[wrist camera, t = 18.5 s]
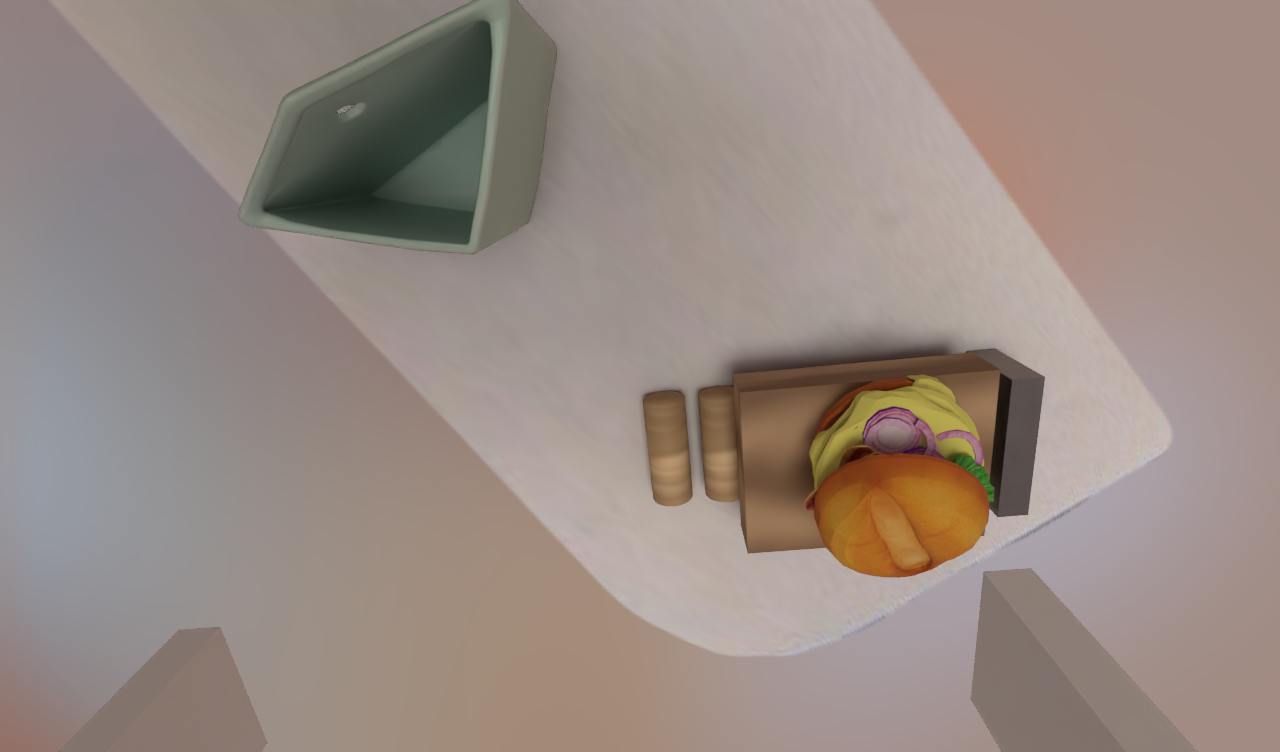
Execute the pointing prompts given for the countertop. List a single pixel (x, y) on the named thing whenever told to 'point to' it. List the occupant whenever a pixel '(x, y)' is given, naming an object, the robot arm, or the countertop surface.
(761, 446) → the board
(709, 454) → the cylinder
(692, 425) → the countertop surface
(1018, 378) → the stop rail
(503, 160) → the planter
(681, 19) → the countertop surface
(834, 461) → the cheeseburger
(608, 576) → the countertop surface
